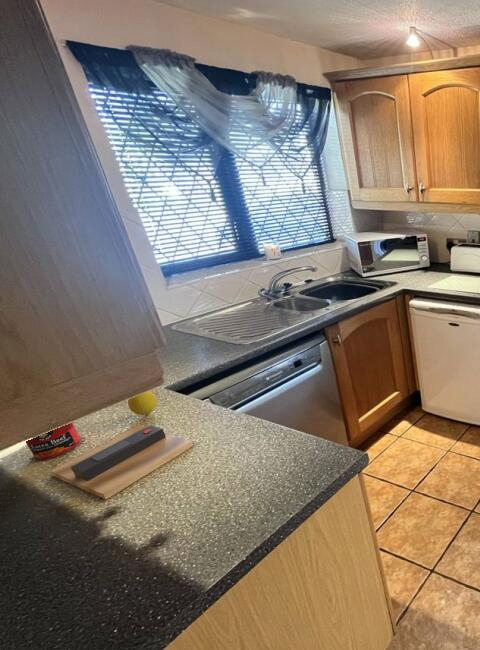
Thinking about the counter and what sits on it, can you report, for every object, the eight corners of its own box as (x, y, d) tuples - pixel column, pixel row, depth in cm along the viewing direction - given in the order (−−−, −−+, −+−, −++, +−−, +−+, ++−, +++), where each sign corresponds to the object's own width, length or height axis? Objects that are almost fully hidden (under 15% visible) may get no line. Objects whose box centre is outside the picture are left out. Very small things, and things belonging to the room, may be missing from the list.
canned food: (30, 465, 89) (7, 426, 85) (39, 447, 95) (18, 410, 91) (78, 450, 94) (58, 412, 90) (83, 433, 99) (65, 398, 95)
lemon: (161, 406, 110) (151, 382, 107) (160, 415, 106) (150, 390, 103) (135, 414, 107) (124, 389, 104) (133, 423, 103) (122, 398, 100)
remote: (87, 481, 82) (82, 471, 81) (75, 476, 84) (69, 466, 83) (166, 437, 95) (162, 427, 94) (154, 433, 97) (150, 424, 96)
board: (52, 475, 86) (49, 470, 85) (142, 429, 101) (140, 424, 100) (106, 499, 79) (103, 494, 79) (193, 445, 94) (191, 441, 94)
